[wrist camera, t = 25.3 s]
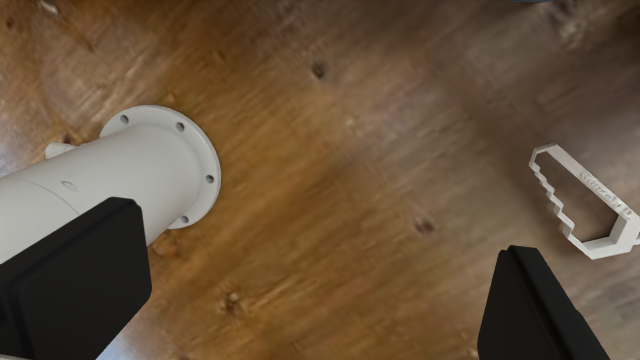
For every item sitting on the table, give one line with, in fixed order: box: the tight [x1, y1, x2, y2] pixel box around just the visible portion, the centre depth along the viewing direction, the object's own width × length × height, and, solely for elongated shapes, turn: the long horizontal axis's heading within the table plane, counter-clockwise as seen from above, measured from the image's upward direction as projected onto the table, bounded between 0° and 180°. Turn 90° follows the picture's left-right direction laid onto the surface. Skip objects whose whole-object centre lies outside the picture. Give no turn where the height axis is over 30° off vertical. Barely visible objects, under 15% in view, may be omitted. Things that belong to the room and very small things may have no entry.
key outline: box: [528, 143, 640, 260], centre depth 34 cm, size 13×5×2 cm, turn 52°
